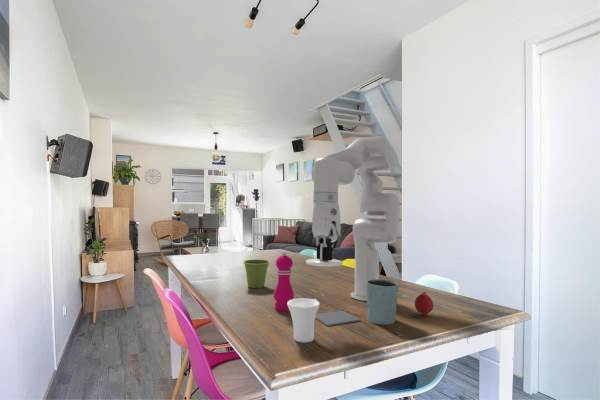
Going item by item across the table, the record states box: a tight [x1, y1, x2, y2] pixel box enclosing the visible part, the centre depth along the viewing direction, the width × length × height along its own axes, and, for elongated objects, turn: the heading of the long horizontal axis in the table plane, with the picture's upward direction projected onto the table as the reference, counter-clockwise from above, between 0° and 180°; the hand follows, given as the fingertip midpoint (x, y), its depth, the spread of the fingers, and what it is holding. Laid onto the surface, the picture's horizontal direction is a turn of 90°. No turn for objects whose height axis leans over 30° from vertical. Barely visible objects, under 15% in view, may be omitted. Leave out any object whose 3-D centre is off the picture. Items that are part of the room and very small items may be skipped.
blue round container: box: [366, 278, 400, 326], centre depth 106 cm, size 10×10×12 cm
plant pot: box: [243, 258, 271, 289], centre depth 148 cm, size 12×12×11 cm
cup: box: [287, 297, 321, 344], centre depth 90 cm, size 9×9×10 cm
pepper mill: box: [273, 251, 295, 312], centre depth 117 cm, size 7×7×20 cm
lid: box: [305, 243, 343, 267], centre depth 100 cm, size 11×11×6 cm
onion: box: [414, 291, 434, 317], centre depth 111 cm, size 6×6×8 cm
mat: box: [315, 310, 361, 327], centre depth 106 cm, size 12×10×1 cm
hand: (324, 259), depth 100 cm, fingers closed on lid, 2 cm apart
